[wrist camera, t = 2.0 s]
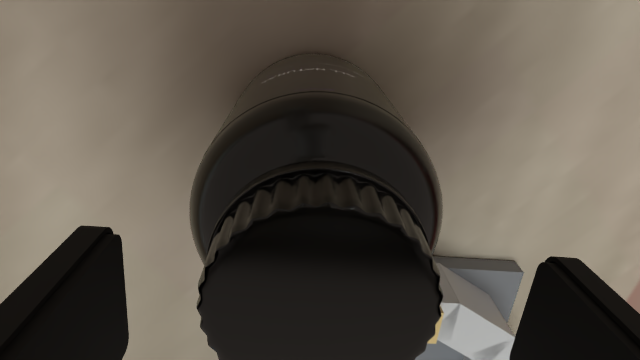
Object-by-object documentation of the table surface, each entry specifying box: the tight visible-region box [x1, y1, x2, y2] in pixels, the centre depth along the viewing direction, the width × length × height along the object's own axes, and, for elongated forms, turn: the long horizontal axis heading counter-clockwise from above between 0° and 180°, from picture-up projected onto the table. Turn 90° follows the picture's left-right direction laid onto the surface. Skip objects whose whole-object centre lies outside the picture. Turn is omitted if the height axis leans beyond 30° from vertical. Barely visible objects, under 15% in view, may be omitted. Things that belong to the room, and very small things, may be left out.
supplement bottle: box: [190, 54, 443, 360], centre depth 14 cm, size 7×7×12 cm
